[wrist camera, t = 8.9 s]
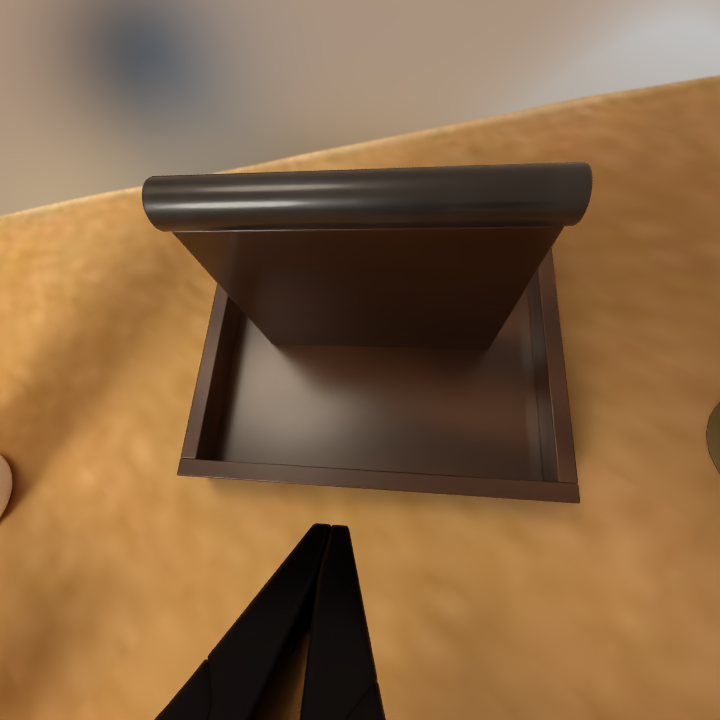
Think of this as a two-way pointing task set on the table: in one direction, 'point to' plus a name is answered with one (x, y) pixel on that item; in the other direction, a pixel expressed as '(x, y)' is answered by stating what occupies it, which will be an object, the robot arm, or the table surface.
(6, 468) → the drinking glass
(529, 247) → the tray
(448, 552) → the table surface
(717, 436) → the olive game pawn
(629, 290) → the table surface
